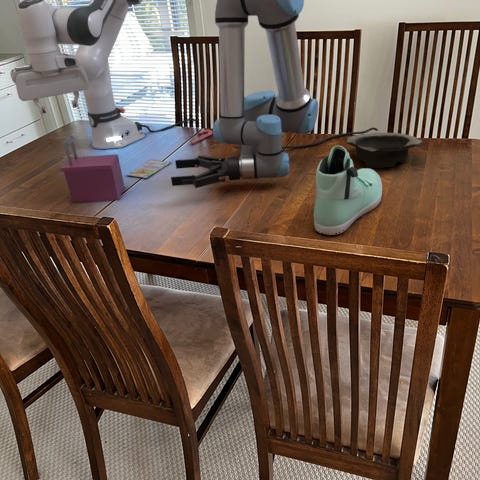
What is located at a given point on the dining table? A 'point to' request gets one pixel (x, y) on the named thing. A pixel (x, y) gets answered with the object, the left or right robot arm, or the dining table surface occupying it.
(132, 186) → the dining table surface
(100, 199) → the chest
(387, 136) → the stone bowl
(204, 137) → the pink flat elongated piece
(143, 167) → the baking ingredient package
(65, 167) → the lid
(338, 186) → the sneaker
